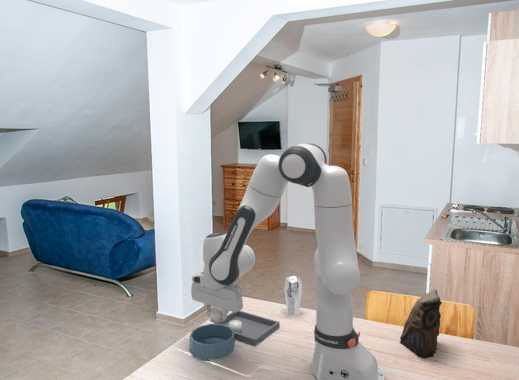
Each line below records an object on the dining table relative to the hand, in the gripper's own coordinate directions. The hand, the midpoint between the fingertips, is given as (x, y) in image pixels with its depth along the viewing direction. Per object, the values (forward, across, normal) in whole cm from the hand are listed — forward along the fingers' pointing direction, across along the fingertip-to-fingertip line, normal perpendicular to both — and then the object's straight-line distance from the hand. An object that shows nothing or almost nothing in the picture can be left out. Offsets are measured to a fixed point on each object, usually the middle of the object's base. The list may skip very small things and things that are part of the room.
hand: (216, 317), depth 147 cm
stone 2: (+9, 0, -10) cm, 14 cm away
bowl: (+10, 0, +3) cm, 11 cm away
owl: (+10, -59, -37) cm, 70 cm away
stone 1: (+1, 0, 0) cm, 1 cm away
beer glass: (+10, -10, -36) cm, 39 cm away
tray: (+10, -2, -14) cm, 17 cm away
